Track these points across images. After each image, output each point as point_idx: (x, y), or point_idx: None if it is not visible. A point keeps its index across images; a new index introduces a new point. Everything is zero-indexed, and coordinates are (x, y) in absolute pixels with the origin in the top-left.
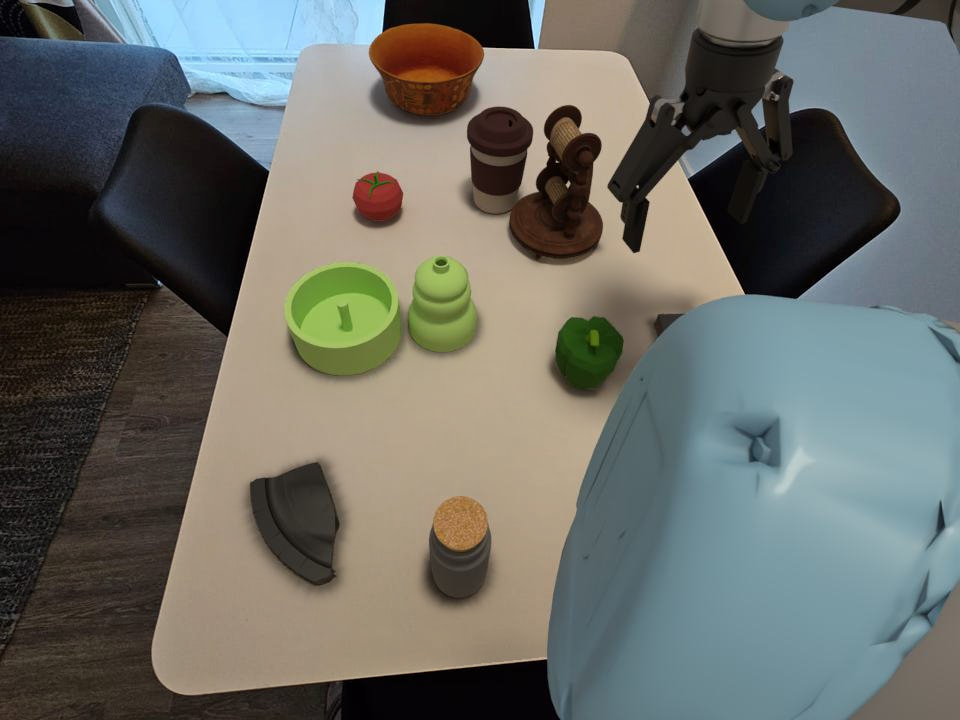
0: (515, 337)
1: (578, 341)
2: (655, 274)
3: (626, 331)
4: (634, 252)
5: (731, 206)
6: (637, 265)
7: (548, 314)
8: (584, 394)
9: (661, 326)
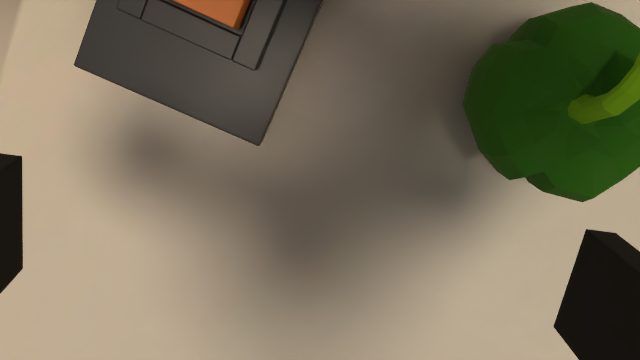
0: None
1: (628, 115)
2: (158, 272)
3: (342, 149)
4: (614, 234)
5: (3, 270)
6: (184, 316)
7: (484, 275)
8: None
9: (275, 108)
